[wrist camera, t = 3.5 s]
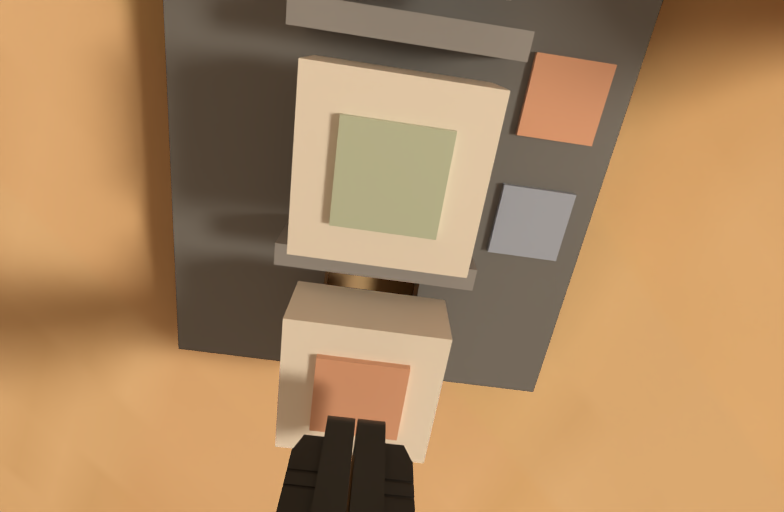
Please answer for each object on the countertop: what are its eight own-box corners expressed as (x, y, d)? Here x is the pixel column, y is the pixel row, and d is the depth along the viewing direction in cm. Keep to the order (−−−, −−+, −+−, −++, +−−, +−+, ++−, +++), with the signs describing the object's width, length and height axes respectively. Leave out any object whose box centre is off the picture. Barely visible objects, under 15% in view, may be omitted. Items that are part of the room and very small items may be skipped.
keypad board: (176, -252, 13) (88, -369, 9) (689, -157, 13) (799, -230, 10) (193, 327, 20) (148, 391, 16) (524, 368, 21) (551, 439, 17)
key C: (306, 259, 16) (280, 322, 13) (440, 276, 17) (453, 344, 13) (298, 368, 18) (273, 451, 15) (418, 383, 18) (424, 468, 15)
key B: (322, 53, 14) (296, 58, 10) (482, 77, 14) (512, 91, 10) (310, 206, 16) (285, 257, 12) (451, 226, 16) (467, 281, 12)
